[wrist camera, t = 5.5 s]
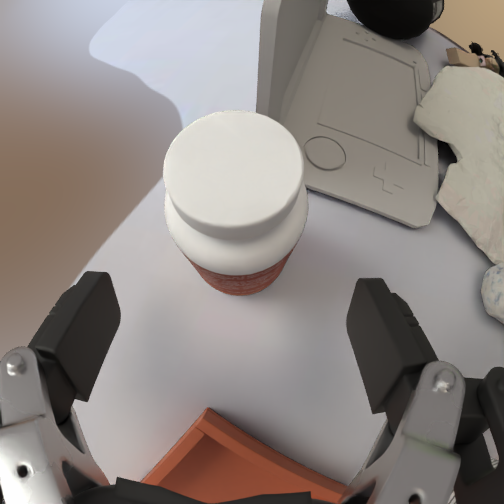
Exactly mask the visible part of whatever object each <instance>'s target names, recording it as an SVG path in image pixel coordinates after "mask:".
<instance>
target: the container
mask: <svg viewBox="0 0 504 504" xmlns="http://www.w3.org/2000/svg"><path fill="white" fill-rule="evenodd" d="M347 2H348V4H349V6H350V9H351V11H352V12H353V13H354V15H355V16H356V17H357V19H358V20H359V21H360V22H361V23H362V24H364V25H365V26H366V27H367V28H369V29H370V30H372V31H374V32H376V33H378V34H380V35H382V36H385V37H388V38H392V39H410V38H414V37H417V36H420V35H421V34H422V33H423V32H424V31H426V30H427V29H428V28H429V25H430V24H431V23H434V22H435V21H436V20H437V19H439V18H440V16H441V14H442V12H443V10H444V0H347Z"/></svg>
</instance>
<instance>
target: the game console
mask: <svg viewBox="0 0 504 504" xmlns="http://www.w3.org/2000/svg"><path fill="white" fill-rule="evenodd" d="M327 4H328V0H264V2H263V6H262V12H261V23H260V43H259V63H258V83H257V104H256V113H258V114H261V115H265V116H267V117H269V118H271V119H273V120H275V121H276V122H278V123H279V124H281V125H282V126H283V127H285V128H286V129H287V130H288V131H289V132H290V133H291V134H292V136H293V137H294V138H295V140H296V141H297V143H298V145H299V147H300V149H301V152H302V156H303V160H304V176H303V182H304V184H305V187H306V188H309V189H312V190H315V191H318V192H321V193H324V194H327V195H329V196H332V197H335V198H338V199H341V200H343V201H346V202H349V203H352V204H354V205H357V206H360V207H362V208H365V209H367V210H370V211H373V212H375V213H378V214H380V215H383V216H385V217H388V218H390V219H393V220H395V221H398V222H400V223H403V224H405V225H407V226H410V227H412V228H414V229H416V228H420V227H423V226H427V225H428V224H429V223H430V220H431V218H432V215H433V213H434V210H435V208H436V205H437V202H438V201H437V199H436V196H437V194H438V146H437V139H436V138H434V137H431V136H430V135H428V134H427V133H426V132H425V131H423V130H422V129H421V128H420V127H419V126H418V125H417V124H416V123H415V122H414V121H413V118H414V114H415V109H416V107H417V106H418V105H419V104H420V102H421V100H422V98H423V97H424V96H425V95H426V93H427V92H428V91H429V89H430V88H431V82H430V76H429V70H428V65H427V63H426V61H425V59H424V58H423V56H422V54H421V53H420V52H419V51H418V50H417V49H416V48H415V47H413V46H412V45H410V44H407V43H405V42H403V41H401V40H399V39H392V38H388V37H385V36H382V35H380V34H378V33H376V32H374V31H372V30H370V29H369V28H367V27H366V26H364V25H361V24H358V23H355V22H352V21H349V20H346V19H343V18H339V17H336V16H333V15H329V14H327V12H326V9H327Z"/></svg>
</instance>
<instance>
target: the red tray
mask: <svg viewBox="0 0 504 504" xmlns="http://www.w3.org/2000/svg"><path fill="white" fill-rule="evenodd" d="M141 483H145V484H150V485H156V486H161V487H163V488H166V489H168V490H171V491H173V492H176V493H179V494H181V495H184V496H187V497H190V498H193V499H196V500H199V501H202V502H205V503H219V502H226V501H231V500H237V499H242V498H247V497H252V496H256V495H260V494H281V493H295V492H306V491H311V498H313V499H320V500H324V501H329V502H332V503H335V504H336V503H337V502H338V500H339V499H340V497H341V496H342V494H343V492H344V491H345V490H346V488H347V487H348V486H346V485H343V484H341V483H339V482H336V481H334V480H332V479H330V478H328V477H325V476H323V475H321V474H319V473H317V472H315V471H313V470H311V469H309V468H307V467H305V466H303V465H301V464H299V463H297V462H295V461H293V460H292V459H290V458H288V457H286V456H284V455H282V454H281V453H279V452H277V451H275V450H273V449H272V448H270V447H268V446H267V445H265V444H263V443H262V442H260V441H258V440H257V439H255V438H253V437H252V436H250V435H249V434H247V433H245V432H244V431H242V430H241V429H239V428H238V427H236V426H235V425H233V424H232V423H230V422H229V421H227V420H226V419H224V418H223V417H221V416H220V415H218V414H217V413H215V412H214V411H213V410H211V409H210V408H208V407H207V408H206V410H205V411H204V412H203V413H202V414H201V415H200V417H199V418H198V419H197V420H196V421H195V422H194V424H193V425H192V426H191V427H190V428H189V429H188V430H187V432H186V433H185V434H184V435H183V436H182V437H181V438H180V440H179V441H178V442H177V443H176V444H175V445H174V446H173V447H172V448H171V450H170V451H169V452H168V453H167V454H166V455H165V456H164V457H163V458H162V459H161V460H160V462H159V463H158V464H157V465H156V466H155V467H154V468H153V469H152V470H151V471H150V472H149V473H148V474H147V475H146V476H145V477H144V479H143V480H142V481H141Z"/></svg>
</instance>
